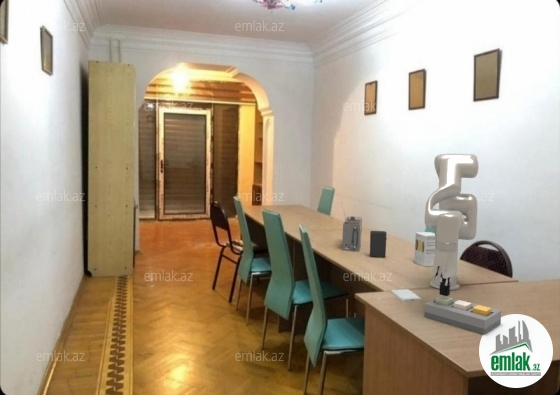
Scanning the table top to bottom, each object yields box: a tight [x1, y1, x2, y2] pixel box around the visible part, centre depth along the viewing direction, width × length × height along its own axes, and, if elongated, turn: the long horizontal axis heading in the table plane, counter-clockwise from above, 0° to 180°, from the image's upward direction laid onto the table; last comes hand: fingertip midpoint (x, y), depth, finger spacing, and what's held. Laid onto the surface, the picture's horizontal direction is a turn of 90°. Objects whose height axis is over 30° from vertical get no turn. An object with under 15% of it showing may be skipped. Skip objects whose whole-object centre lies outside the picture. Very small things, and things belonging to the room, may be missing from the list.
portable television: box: [341, 203, 363, 252], centre depth 285 cm, size 12×24×30 cm, turn 167°
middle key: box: [453, 299, 473, 311], centre depth 164 cm, size 5×5×2 cm
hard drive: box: [390, 288, 423, 303], centre depth 191 cm, size 2×8×12 cm
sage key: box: [434, 295, 454, 306], centre depth 169 cm, size 5×5×2 cm
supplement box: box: [413, 231, 435, 268], centre depth 245 cm, size 10×9×17 cm
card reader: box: [369, 230, 387, 259], centre depth 260 cm, size 9×4×15 cm, turn 80°
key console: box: [423, 296, 502, 336], centre depth 164 cm, size 14×22×5 cm, turn 44°
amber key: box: [473, 304, 492, 316], centre depth 159 cm, size 5×5×2 cm
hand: (444, 295), depth 169 cm, fingers closed
